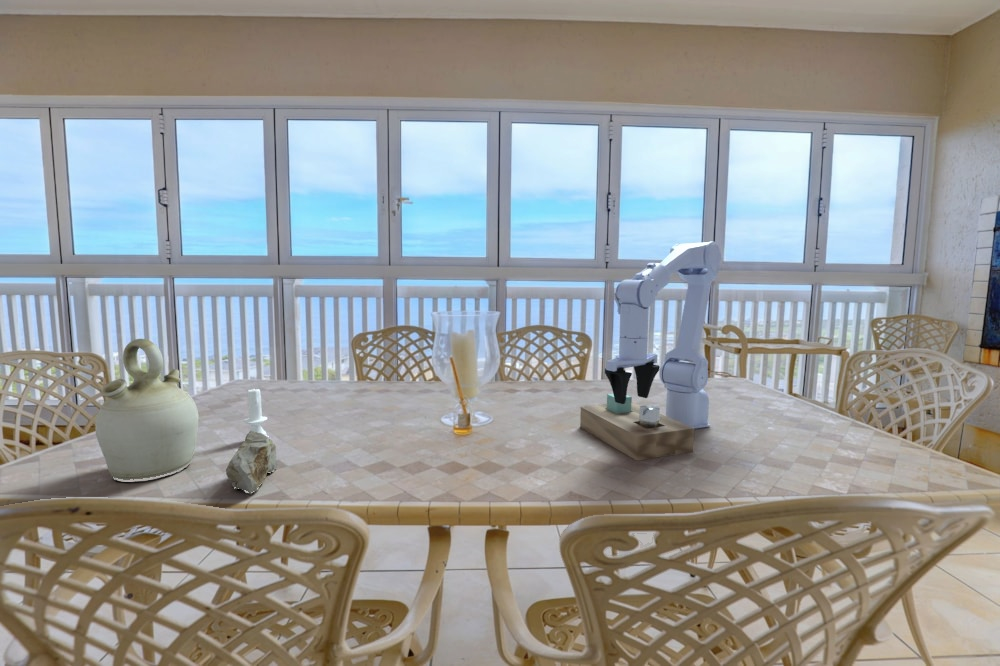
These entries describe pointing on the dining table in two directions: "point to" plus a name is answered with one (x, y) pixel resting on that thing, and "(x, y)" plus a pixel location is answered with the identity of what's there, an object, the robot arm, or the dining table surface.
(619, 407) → the peg square
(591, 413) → the socket block
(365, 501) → the dining table surface
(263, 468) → the rock
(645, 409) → the peg round
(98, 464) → the dining table surface
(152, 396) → the jug
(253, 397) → the candle
